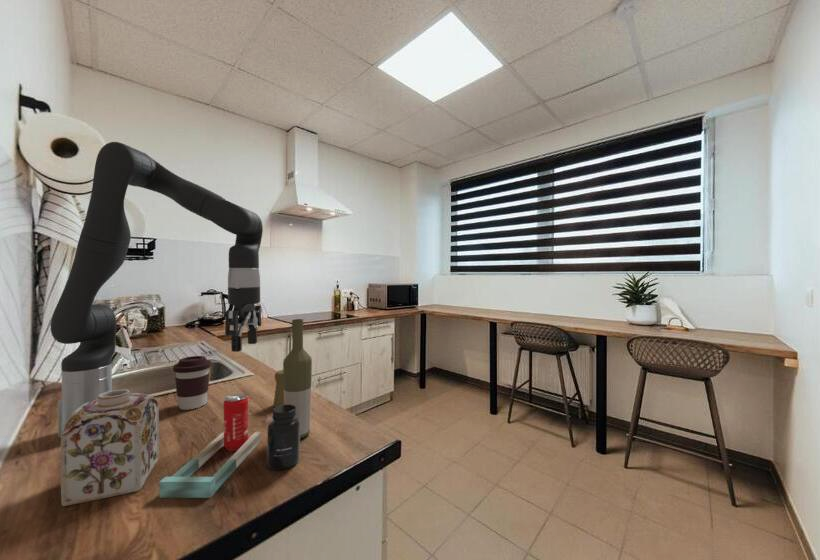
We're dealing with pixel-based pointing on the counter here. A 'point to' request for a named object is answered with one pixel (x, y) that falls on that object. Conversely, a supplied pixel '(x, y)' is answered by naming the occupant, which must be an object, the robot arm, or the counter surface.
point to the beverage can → (235, 421)
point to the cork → (279, 389)
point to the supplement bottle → (283, 438)
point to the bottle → (298, 378)
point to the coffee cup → (192, 381)
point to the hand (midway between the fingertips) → (245, 347)
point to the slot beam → (205, 486)
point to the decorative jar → (109, 446)
